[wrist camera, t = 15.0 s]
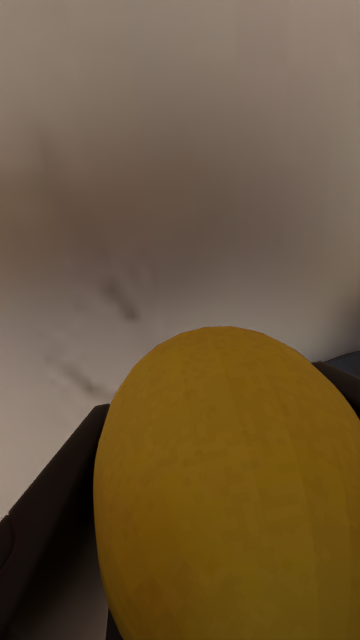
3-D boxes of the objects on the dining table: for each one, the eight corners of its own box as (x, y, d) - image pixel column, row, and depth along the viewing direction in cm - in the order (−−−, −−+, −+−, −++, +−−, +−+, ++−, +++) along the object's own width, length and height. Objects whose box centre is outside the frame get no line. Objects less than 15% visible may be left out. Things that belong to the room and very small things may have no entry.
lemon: (132, 261, 9) (66, 688, 2) (312, 302, 10) (738, 674, 3) (101, 415, 11) (17, 873, 4) (250, 434, 12) (395, 827, 5)
